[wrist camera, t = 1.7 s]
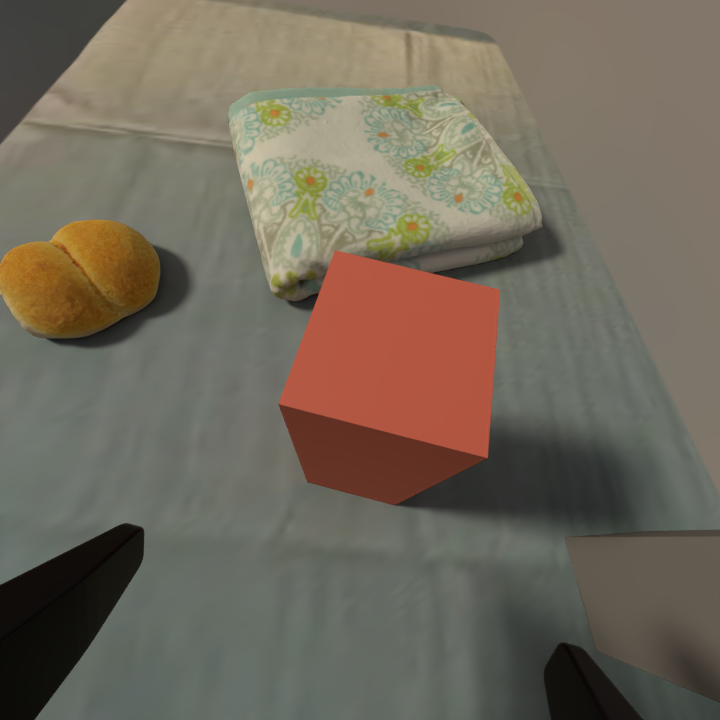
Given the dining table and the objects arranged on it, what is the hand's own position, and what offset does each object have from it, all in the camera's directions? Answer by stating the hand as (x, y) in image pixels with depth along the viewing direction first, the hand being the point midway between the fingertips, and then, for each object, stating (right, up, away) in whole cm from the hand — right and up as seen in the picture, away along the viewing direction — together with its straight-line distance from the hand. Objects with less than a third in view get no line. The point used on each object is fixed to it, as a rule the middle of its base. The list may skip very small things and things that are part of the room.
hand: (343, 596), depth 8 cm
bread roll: (-18, +10, +17) cm, 27 cm away
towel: (+2, +19, +24) cm, 30 cm away
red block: (0, 0, +14) cm, 13 cm away
